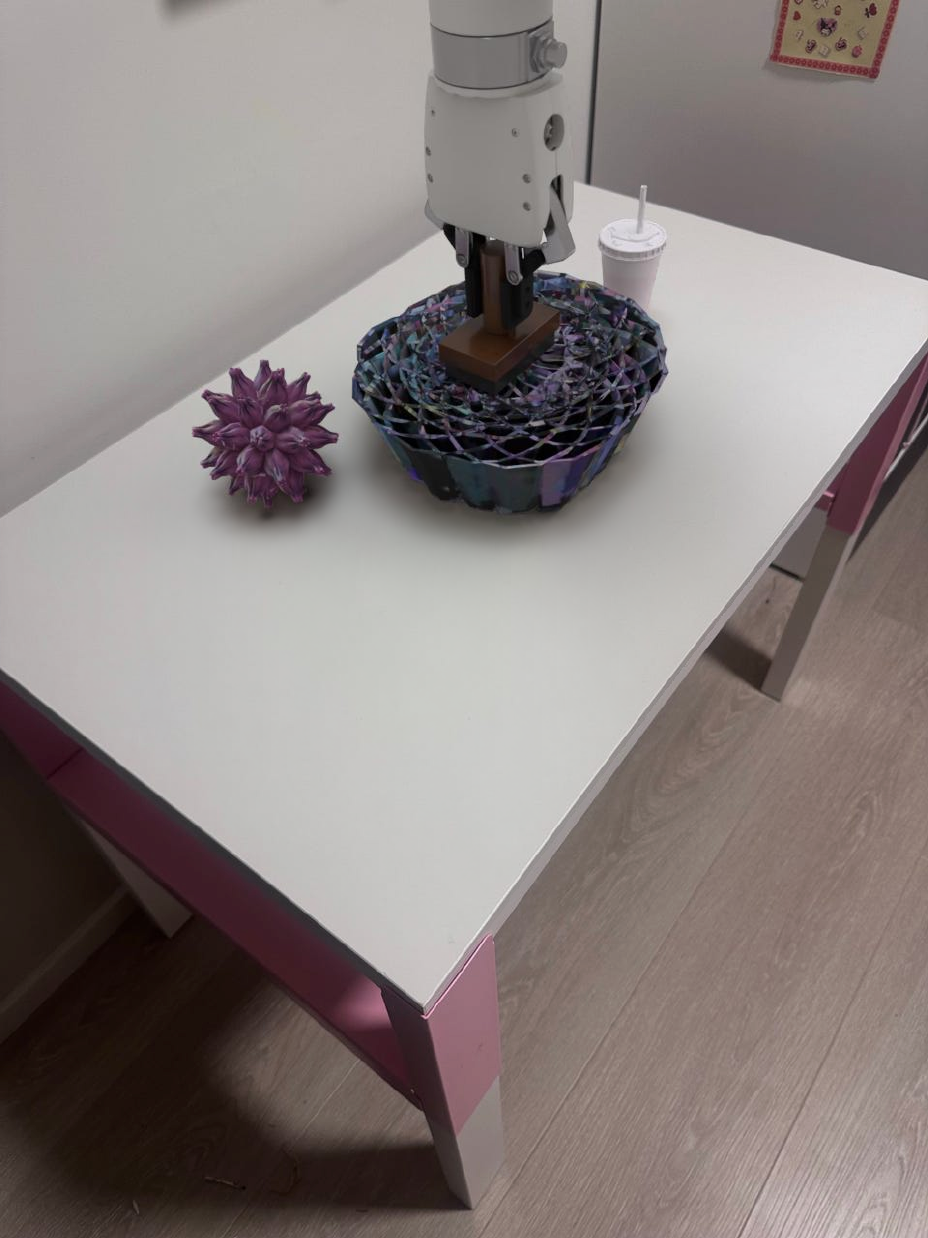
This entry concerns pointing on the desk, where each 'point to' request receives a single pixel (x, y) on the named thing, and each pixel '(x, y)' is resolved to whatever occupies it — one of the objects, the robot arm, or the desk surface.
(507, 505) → the decorative bowl
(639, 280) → the smoothie
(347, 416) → the desk surface
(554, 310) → the stamp
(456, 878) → the desk surface
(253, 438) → the flower
